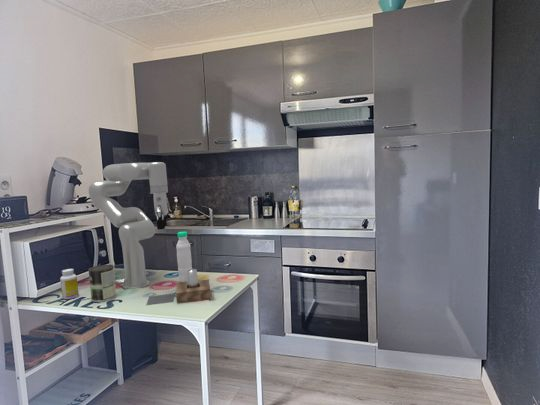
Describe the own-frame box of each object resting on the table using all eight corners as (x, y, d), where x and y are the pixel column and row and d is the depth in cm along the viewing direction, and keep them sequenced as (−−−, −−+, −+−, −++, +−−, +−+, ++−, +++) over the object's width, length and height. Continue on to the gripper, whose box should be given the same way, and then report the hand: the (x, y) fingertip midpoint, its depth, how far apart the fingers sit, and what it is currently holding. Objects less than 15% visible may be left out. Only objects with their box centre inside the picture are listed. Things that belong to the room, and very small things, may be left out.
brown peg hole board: (177, 304, 146) (176, 293, 145) (178, 293, 159) (177, 282, 159) (211, 300, 148) (210, 288, 148) (209, 289, 162) (208, 279, 162)
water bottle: (186, 277, 183) (183, 230, 181) (196, 279, 179) (192, 231, 177) (175, 281, 178) (171, 232, 175) (185, 283, 173) (181, 233, 171)
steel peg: (189, 299, 151) (187, 272, 150) (189, 296, 155) (187, 269, 154) (198, 297, 152) (196, 270, 151) (198, 294, 156) (196, 268, 155)
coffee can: (90, 303, 152) (87, 272, 151) (92, 296, 162) (89, 266, 161) (116, 299, 156) (113, 268, 155) (116, 292, 166) (113, 263, 165)
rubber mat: (146, 306, 145) (146, 305, 145) (149, 297, 156) (149, 296, 156) (173, 303, 148) (173, 301, 148) (174, 294, 158) (174, 293, 158)
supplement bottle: (82, 295, 165) (79, 268, 164) (70, 300, 158) (67, 272, 157) (71, 294, 167) (68, 267, 166) (59, 299, 161) (55, 271, 160)
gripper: (166, 190, 150) (169, 229, 152) (169, 188, 167) (171, 224, 169) (147, 191, 149) (151, 231, 150) (152, 189, 165) (155, 225, 167)
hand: (162, 227), depth 159 cm, fingers open, 9 cm apart
